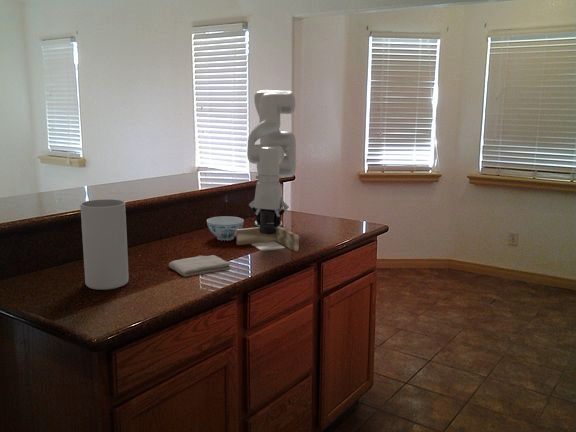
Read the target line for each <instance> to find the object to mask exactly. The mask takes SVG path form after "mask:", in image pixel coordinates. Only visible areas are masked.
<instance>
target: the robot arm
mask: <svg viewBox="0 0 576 432" xmlns="http://www.w3.org/2000/svg"><path fill="white" fill-rule="evenodd" d="M253 100H254V105H255V109H256V112H257V114H258V117H259V123H258V124H257V125H256V126H255V127H254V128H253V129H252V130H251V132H250V134H249V135H248V139H247V151H246V156H247V159H248V161H249V163H250V164H255V165H256V171H257V175H255V179H256V180H258V181H257V183H256V185H255V192H254V193H255V194H254V198H253V200H252V201H251V202H250V203H248V206H249V207H250V209H251V210H252V212H254V214H255V215H256V216H255V217H256V220H255V221H254V225H255V226H256V227H259V225H260V210H261V209H265V210H275V213H276V215H277V216H276V217H275V226H276V227H278V226H280V227H282V226H283V221H282V215H283V214H284V213H286V211H287V210H288V209H289V208H290V206H289V205H288V204H287V203H286V201H284V200H283V192H282V190H283V189H282V186H281V182H280V178H292V177H294V176H295V175H296V174H295V173H296V167H297V165H296V164H297V163H296V162H297V158H296V157H297V141H296V140H297V139H296V135H295V134H294V133H293V132H292V131H284V130H283V131H281V130H280V128H281V114H282V115H283V114H286V115H288V114H289V115H292V114H293V113H294V112H295V110H296V97H295V94H294V92H293V91H291V90H276V89H275V90H272V89H270V90H269V89H265V90H264V89H263V90H259V91H256V92H255V94H254V99H253ZM258 140H259V142H260V143H259V144H256V142H257V141H258ZM282 207H283V208H282ZM281 208H282V209H281Z"/></svg>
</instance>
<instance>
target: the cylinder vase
mask: <svg viewBox="0 0 576 432" xmlns="http://www.w3.org/2000/svg"><path fill="white" fill-rule="evenodd" d="M126 210H127V209H126V201H125V200H120V199H111V198H110V199H109V198H107V199H106V198H105V199H92V200H86V201H82V202H80V218H81V219H80V220H81V233H82V234H81V235H82V237H81V238H82V251H83V252H82V253H83V269H84V283H85V286H86V287H88V288H89V289H92V290H98V291H101V290H102V291H105V290H113V289H114V290H115V289H118V288H121V287H124V286H125V285H127V284H128V282H129V258H128V257H129V256H128V255H129V254H128V237H127V236H128V235H127V216H126V215H127V213H126Z"/></svg>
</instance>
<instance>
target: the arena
mask: <svg viewBox="0 0 576 432" xmlns="http://www.w3.org/2000/svg"><path fill="white" fill-rule="evenodd" d="M299 242H300V236H299V234H297V233H294V232H292V231H290V230H289V229H286V228H284V227H282V226H278V227H277V233H276V234H271V235H267V234H261V233H260V232H259V226H256V227H248V228H247V227H246V228H242V229H237V235H236V245H238V246H240V245H241V246H242V245H251V246H253V247H255V248H256V249H258V250H259V251H261V252H265V251H266V252H267V251H275V250H283V249H286V247H287V248H288V249H290V250H291V251H293V252H298V251H299V249H300V248H299V247H300V245H299V244H300V243H299Z"/></svg>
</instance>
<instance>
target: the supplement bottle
mask: <svg viewBox="0 0 576 432" xmlns="http://www.w3.org/2000/svg"><path fill="white" fill-rule="evenodd" d="M276 216H277V215H276V213H275V210H265V209H261V210H260V225H259V226H258V227H259V232H260V233H261V234H267V235H271V234H276V233H277V227H276V226H275V217H276Z"/></svg>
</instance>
